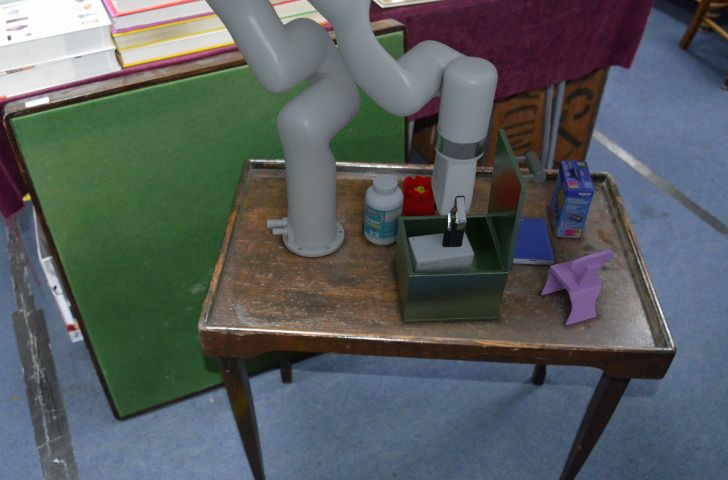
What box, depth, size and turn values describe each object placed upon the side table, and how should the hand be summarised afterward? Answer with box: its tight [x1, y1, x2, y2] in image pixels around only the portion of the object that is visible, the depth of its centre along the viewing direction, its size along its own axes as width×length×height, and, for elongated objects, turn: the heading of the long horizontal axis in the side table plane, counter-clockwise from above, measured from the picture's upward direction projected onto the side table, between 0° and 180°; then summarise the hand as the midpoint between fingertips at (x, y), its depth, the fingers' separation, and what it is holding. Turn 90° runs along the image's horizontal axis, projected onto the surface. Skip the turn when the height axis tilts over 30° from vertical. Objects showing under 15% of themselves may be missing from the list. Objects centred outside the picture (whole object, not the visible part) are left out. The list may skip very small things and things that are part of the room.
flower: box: [400, 174, 437, 217], centre depth 137 cm, size 8×8×8 cm
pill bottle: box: [363, 173, 403, 246], centre depth 130 cm, size 8×7×14 cm
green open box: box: [394, 213, 509, 324], centre depth 119 cm, size 17×16×12 cm
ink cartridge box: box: [548, 158, 596, 239], centre depth 132 cm, size 10×6×14 cm, turn 174°
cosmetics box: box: [408, 232, 474, 273], centre depth 119 cm, size 10×6×10 cm, turn 100°
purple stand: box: [540, 249, 615, 326], centre depth 115 cm, size 8×9×15 cm
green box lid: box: [487, 128, 547, 272], centre depth 109 cm, size 17×16×5 cm
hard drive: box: [513, 217, 555, 266], centre depth 132 cm, size 2×8×12 cm
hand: (446, 226), depth 113 cm, fingers open, 9 cm apart
